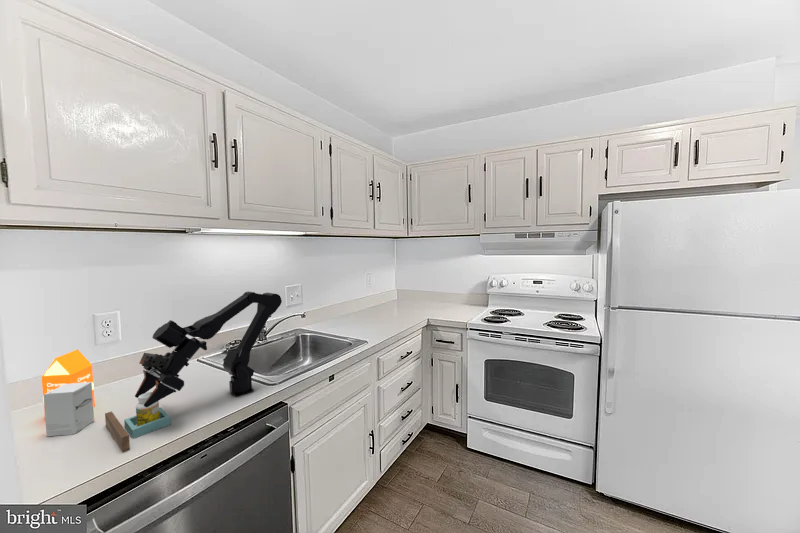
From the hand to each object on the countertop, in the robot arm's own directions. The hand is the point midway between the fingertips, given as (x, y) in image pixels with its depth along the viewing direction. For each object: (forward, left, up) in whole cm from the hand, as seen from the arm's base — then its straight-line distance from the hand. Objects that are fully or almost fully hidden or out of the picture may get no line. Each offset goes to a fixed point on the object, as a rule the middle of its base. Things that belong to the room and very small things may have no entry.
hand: (140, 401), depth 94 cm
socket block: (-1, 0, -8) cm, 8 cm away
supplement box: (+15, -15, -8) cm, 23 cm away
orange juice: (+15, -27, -8) cm, 32 cm away
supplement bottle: (-2, 0, -8) cm, 8 cm away
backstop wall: (+6, +1, -8) cm, 10 cm away
